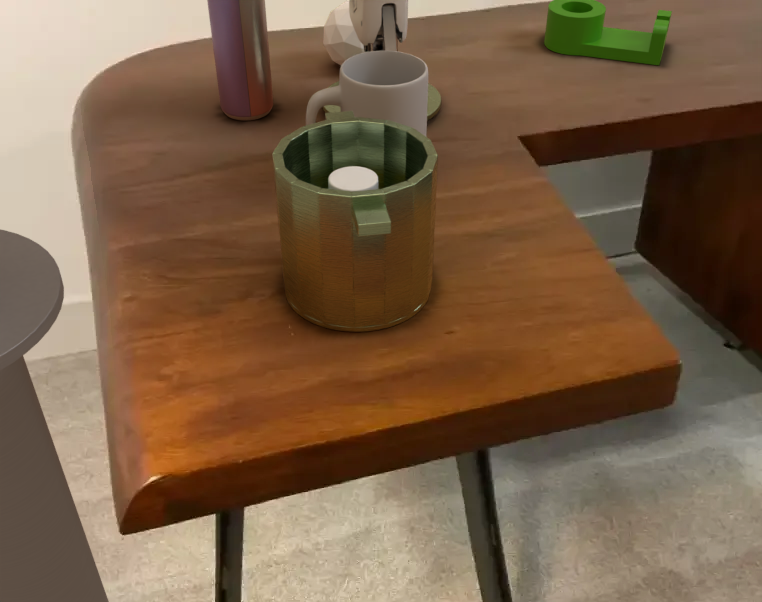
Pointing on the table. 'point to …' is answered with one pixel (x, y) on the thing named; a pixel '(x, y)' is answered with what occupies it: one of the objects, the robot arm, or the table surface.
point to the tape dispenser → (601, 33)
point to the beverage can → (241, 57)
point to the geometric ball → (341, 35)
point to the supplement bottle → (353, 179)
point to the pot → (356, 222)
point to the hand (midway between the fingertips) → (380, 93)
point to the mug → (379, 89)
